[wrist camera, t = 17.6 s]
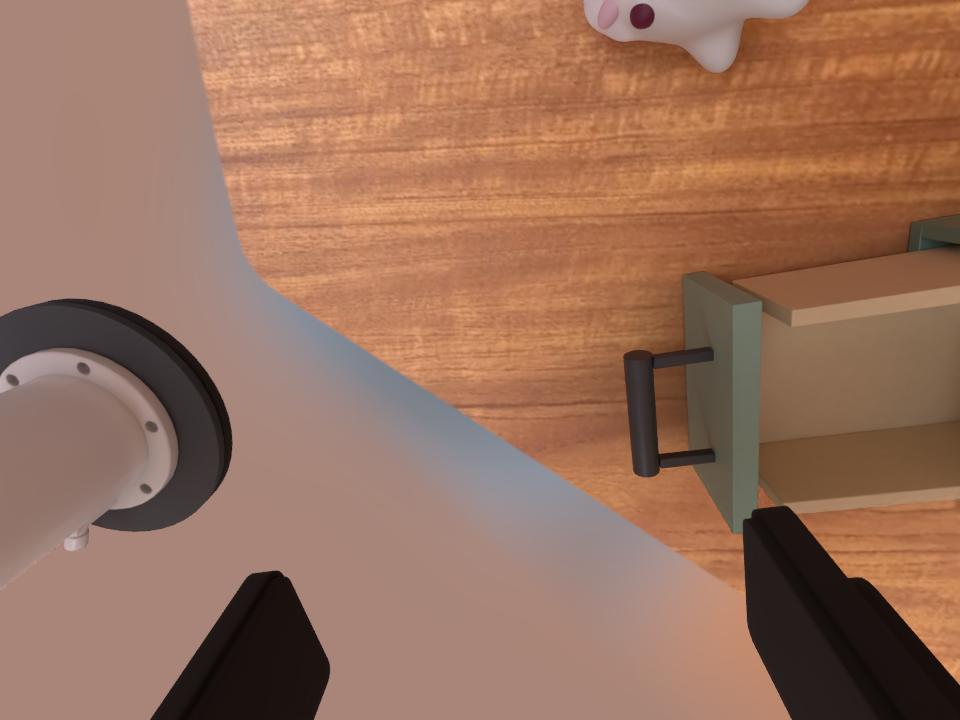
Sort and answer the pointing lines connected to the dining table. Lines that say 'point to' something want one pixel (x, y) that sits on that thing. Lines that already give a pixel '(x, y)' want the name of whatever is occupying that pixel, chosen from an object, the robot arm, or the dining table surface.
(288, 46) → the dining table surface
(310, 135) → the dining table surface
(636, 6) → the cat figurine
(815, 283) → the drawer
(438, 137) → the dining table surface
